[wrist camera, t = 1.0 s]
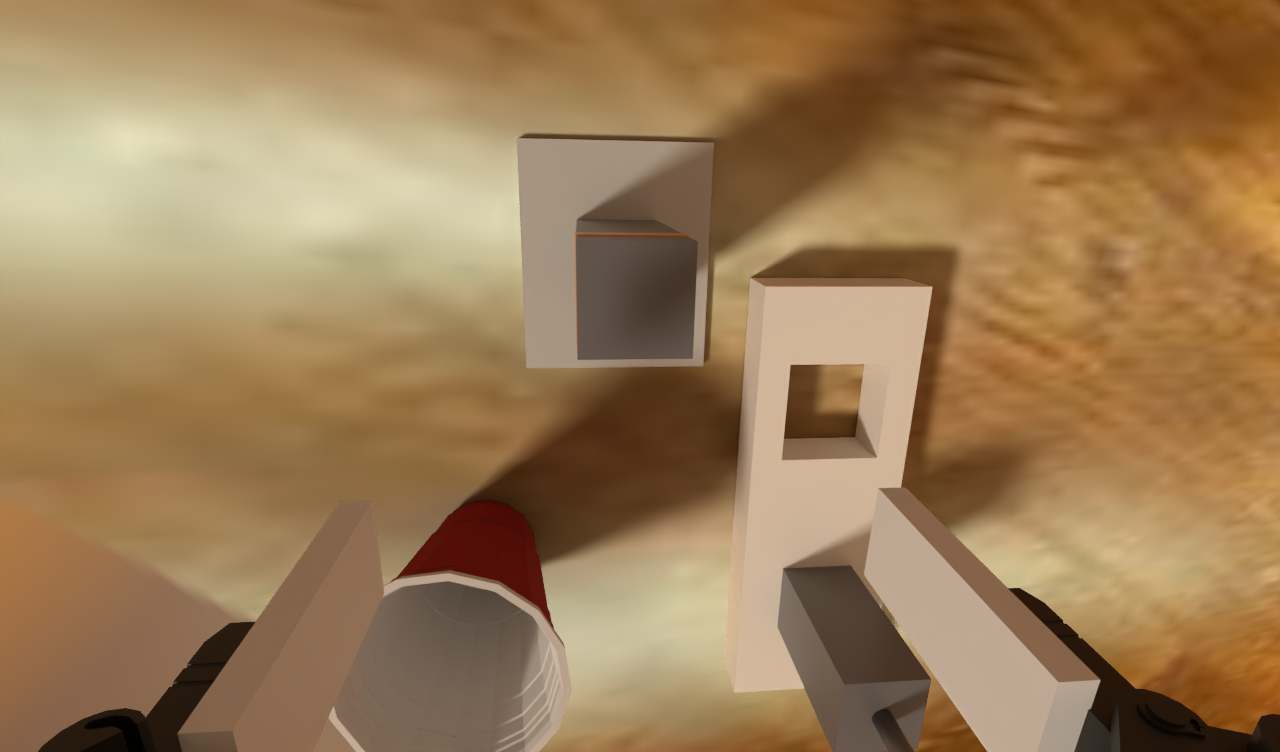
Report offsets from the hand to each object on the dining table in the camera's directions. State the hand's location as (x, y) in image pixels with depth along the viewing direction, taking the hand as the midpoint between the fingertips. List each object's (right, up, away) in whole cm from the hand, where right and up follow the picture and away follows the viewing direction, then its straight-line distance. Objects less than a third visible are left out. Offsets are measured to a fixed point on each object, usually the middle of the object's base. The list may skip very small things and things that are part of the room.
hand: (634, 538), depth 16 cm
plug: (-1, +10, +17) cm, 20 cm away
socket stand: (+11, -3, +23) cm, 25 cm away
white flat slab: (-1, +11, +17) cm, 20 cm away
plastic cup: (-9, -6, +22) cm, 25 cm away
